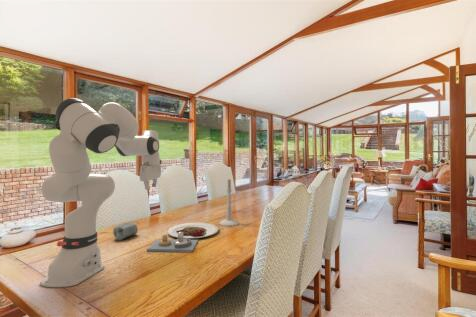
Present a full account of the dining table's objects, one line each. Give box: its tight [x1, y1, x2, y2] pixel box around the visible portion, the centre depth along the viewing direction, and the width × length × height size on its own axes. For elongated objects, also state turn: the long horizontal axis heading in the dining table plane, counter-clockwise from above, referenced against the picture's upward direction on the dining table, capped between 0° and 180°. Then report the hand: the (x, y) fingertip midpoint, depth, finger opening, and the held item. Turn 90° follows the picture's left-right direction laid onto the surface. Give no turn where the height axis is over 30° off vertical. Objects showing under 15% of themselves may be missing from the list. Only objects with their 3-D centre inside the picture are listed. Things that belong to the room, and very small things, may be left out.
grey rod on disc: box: [219, 178, 240, 227], centre depth 174 cm, size 13×13×30 cm
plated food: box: [167, 222, 219, 240], centre depth 157 cm, size 30×30×3 cm
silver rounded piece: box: [173, 232, 188, 246], centre depth 133 cm, size 7×7×6 cm
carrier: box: [146, 233, 199, 253], centre depth 133 cm, size 14×22×6 cm, turn 88°
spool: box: [112, 221, 138, 241], centre depth 147 cm, size 14×10×10 cm
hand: (150, 188), depth 137 cm, fingers open, 8 cm apart
